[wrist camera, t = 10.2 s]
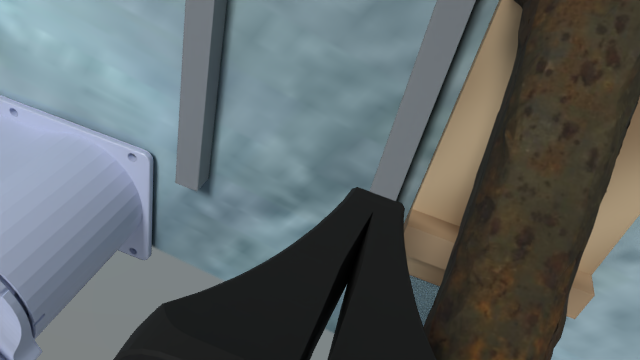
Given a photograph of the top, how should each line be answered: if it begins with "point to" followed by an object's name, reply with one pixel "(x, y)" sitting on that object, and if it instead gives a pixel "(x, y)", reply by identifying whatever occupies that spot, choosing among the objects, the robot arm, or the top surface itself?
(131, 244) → the robot arm
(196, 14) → the socket channel
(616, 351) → the top surface
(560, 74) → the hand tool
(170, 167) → the top surface
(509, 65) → the rack
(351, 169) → the top surface
